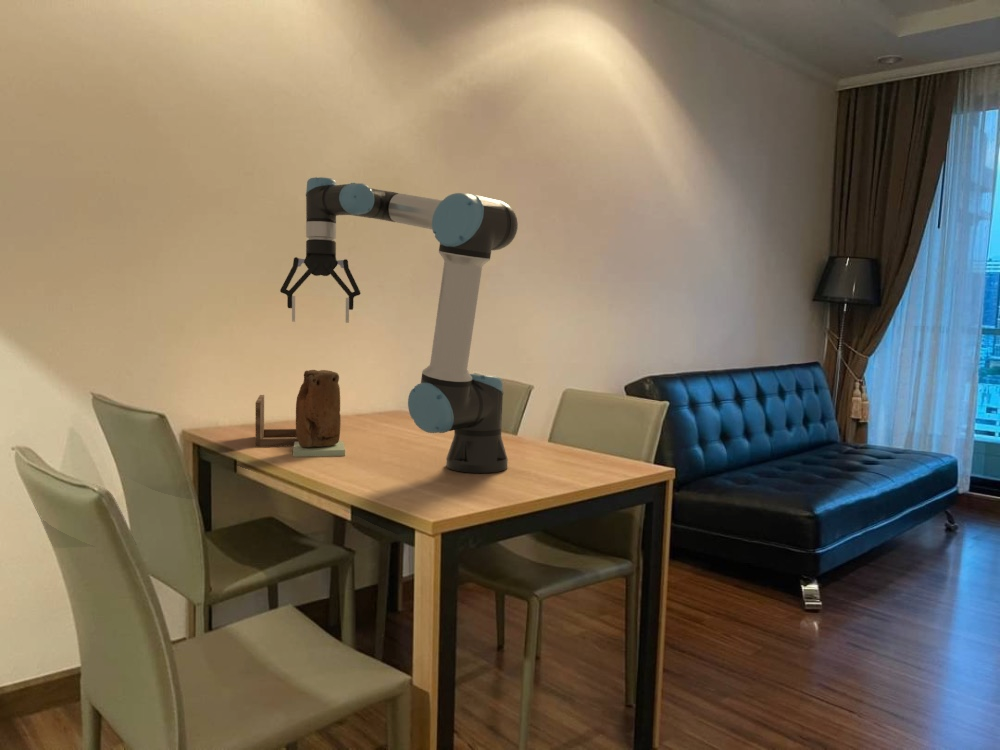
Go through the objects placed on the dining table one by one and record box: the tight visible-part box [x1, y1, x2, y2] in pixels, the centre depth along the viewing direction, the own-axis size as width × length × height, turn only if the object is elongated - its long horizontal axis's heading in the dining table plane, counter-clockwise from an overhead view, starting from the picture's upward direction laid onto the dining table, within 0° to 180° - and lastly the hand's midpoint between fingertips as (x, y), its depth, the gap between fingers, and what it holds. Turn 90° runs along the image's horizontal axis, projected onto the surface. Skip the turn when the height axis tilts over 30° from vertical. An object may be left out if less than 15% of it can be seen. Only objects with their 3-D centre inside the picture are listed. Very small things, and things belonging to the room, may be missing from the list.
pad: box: [292, 440, 346, 458], centre depth 206 cm, size 13×13×2 cm
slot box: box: [255, 394, 298, 448], centre depth 219 cm, size 16×17×12 cm
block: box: [295, 369, 342, 447], centre depth 205 cm, size 11×8×20 cm
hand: (320, 322), depth 203 cm, fingers open, 13 cm apart
